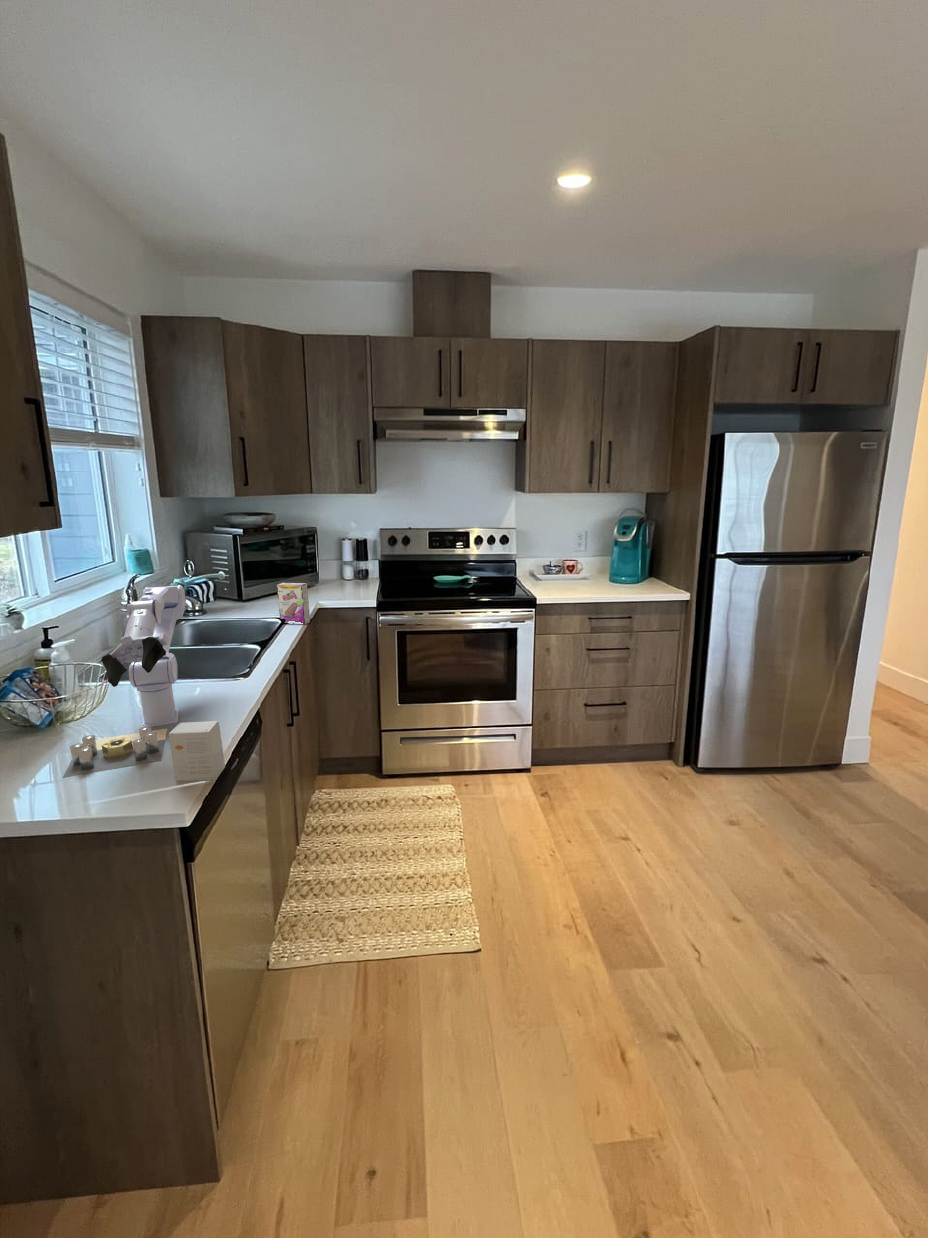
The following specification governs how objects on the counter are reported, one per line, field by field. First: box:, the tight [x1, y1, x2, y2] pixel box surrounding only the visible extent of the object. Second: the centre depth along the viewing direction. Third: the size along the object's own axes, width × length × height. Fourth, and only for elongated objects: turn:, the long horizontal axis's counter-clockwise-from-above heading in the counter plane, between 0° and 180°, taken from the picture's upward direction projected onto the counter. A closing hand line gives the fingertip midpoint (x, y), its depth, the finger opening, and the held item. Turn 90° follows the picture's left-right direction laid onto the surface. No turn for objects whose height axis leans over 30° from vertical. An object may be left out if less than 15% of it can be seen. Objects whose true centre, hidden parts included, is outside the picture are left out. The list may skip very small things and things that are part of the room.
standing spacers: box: [69, 727, 159, 770], centre depth 135 cm, size 9×16×4 cm, turn 111°
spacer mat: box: [62, 728, 168, 779], centre depth 138 cm, size 19×18×1 cm
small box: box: [168, 720, 226, 782], centre depth 125 cm, size 8×6×10 cm
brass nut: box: [102, 737, 133, 759], centre depth 136 cm, size 5×6×3 cm
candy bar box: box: [276, 582, 311, 626], centre depth 254 cm, size 11×5×16 cm, turn 77°
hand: (129, 676), depth 131 cm, fingers open, 7 cm apart
